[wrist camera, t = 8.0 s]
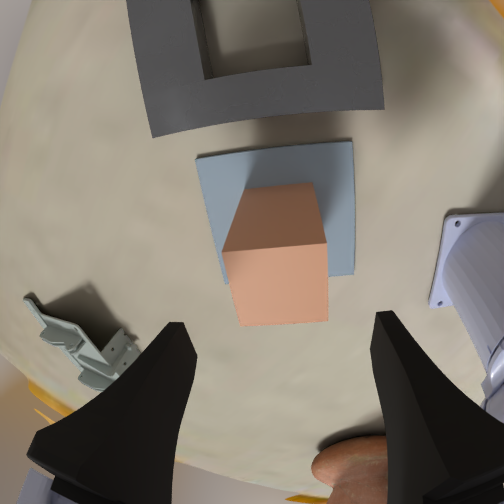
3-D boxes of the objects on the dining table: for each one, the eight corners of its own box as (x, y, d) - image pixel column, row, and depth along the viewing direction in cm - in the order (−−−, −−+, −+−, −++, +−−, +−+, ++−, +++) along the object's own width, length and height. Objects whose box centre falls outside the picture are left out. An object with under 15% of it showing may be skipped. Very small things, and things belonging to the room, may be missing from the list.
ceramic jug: (336, 466, 42) (338, 533, 30) (285, 450, 38) (281, 533, 26) (428, 431, 35) (442, 506, 23) (395, 408, 30) (412, 510, 18)
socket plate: (345, -48, 9) (352, -61, 8) (373, 106, 14) (384, 109, 13) (138, -14, 11) (123, -21, 10) (166, 131, 16) (152, 138, 15)
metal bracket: (53, 323, 19) (150, 425, 26) (97, 277, 23) (176, 384, 30) (10, 307, 26) (81, 390, 33) (41, 277, 30) (104, 360, 37)
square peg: (312, 182, 17) (326, 243, 11) (316, 242, 19) (328, 321, 13) (243, 189, 18) (221, 252, 12) (254, 247, 20) (240, 326, 14)
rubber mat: (351, 141, 16) (352, 142, 15) (353, 271, 20) (353, 274, 20) (196, 158, 17) (195, 159, 17) (225, 281, 22) (225, 284, 21)
